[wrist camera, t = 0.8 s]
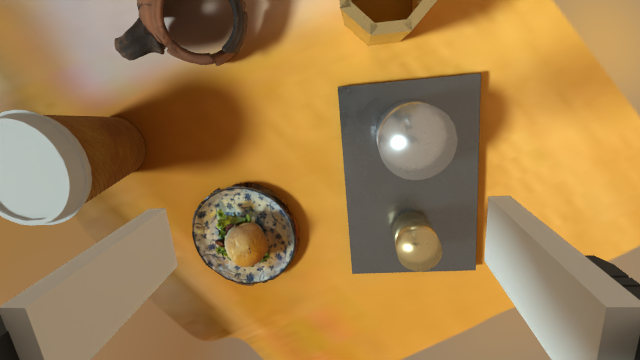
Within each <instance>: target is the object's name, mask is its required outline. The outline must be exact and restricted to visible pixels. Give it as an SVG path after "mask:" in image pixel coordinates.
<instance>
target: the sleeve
mask: <svg viewBox="0 0 640 360" xmlns="http://www.w3.org/2000/svg"><path fill="white" fill-rule="evenodd" d="M436 1H437V0H412V13H411V15H410V16H409V17H408V18H407V19H405V20H396V21H388V22H379V23H374V22H373V21H372V20H371V19H370V18H369V17H368V16H366V15H365V14H364V13H363V12H362V11H361V10H360V9H359V8H358V7H356V6H355V5H354V4H353V3H352V2H351V0H340V9H341V13H342V17H343V21H344V25H345V26H346V27H347V28H349V29H350V30H351V31H352V32H353V33H354V34H355V35H356V36H358V37H359V38H360V39H361V40H362V41H363V42H364V43H365V44H367V45H377V44H386V43H396V42H400V41H401V40H402V39H403V38H404V37H405V36H406V35H408V34H409V33H410V32H411V31H412V30H413V29H414V28H415V26H416V25H417V24H418V23H419V22H420V20H421V19H422V18H423V17H424V16H425V14H426V13H427V12H428V11H429V10H430V8H431V7H432V6H433V5H434V4H435V3H436Z"/></svg>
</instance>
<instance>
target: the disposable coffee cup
mask: <svg viewBox="0 0 640 360" xmlns="http://www.w3.org/2000/svg"><path fill="white" fill-rule="evenodd" d="M145 154H146V148H145V142H144V139H143V137H142V135H141V134H140V132H139V130H138V129H137V128H136V127H135V126H134V125H133V124H132V123H130V122H129V121H127V120H125V119H122V118H119V117H93V116H61V115H59V116H57V115H40V114H38V113H35V112H32V111H25V110H11V111H4V112H2V113H0V215H1V216H2V217H4V218H6V219H8V220H10V221H13V222H16V223H19V224H23V225H53V224H57V223H61V222H64V221H66V220H67V219H70V218H71V217H73V216H74V215H76V213H77V212H78V211H79V210H80V209H81V208H82V207H83V205H84V204H85V203H86V202H88V201H89V200H91V199H92V198H94V197H96V196H97V195H98V194H100V193H101V192H103V191H105V190H106V189H108V188H109V187H110V186H112V185H113V184H115V183H117V182H118V181H120V180H121V179H123V178H124V177H126V176H127V175H129V174H130V173H132V172H133V171H135V170H136V169H138V168H139V167H140V166H141V164H142V163H143V161H144V158H145Z"/></svg>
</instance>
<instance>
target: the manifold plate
mask: <svg viewBox="0 0 640 360" xmlns="http://www.w3.org/2000/svg"><path fill="white" fill-rule="evenodd" d="M480 87H481V73H479V74H468V75H457V76H447V77H437V78H426V79H416V80H405V81H395V82H385V83H374V84H364V85H353V86H343V87H338V96H339V108H340V121H341V134H342V147H343V160H344V172H345V185H346V198H347V211H348V223H349V236H350V249H351V262H352V274H359V273H393V272H428V271H462V270H476V235H477V198H478V161H479V124H480Z"/></svg>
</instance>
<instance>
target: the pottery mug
mask: <svg viewBox="0 0 640 360" xmlns="http://www.w3.org/2000/svg"><path fill="white" fill-rule="evenodd" d="M164 1H165V0H137V6H138V10H139V18H138V19H137V21H136V22H135V23H134V24H133V26H132V27H130V29H128V30H127V31H126V32H125V33H124V35H123V36H121V37H119V38H116V39H115V48H116V50H117V51H118V52H119V53H120V54H121V55H122V56H123V57H124V58H126V59H128V60H134V59H137V58H139V57H142V56H144V55H146V54H148V53H152V52H157V53H160V54H164V49H165V48H166V47H167V48H168V49H167V52H168V53H169V54H170V55H172V56H174V57H177V58H179V59H181V60H184V61H187V62H190V63H196V64H200V65H209V64H214V63H215V64H216V65H217V66H219V65H221V64H223V63H225V62H227V61H228V60H230V59H231V58H232V57H233V56H234V54H237V53H238V51H239V50H240V48H241V45H242V43H243V40H244V37H245V34H246V28H247V13H246V12H245V2H244V0H229V1H230V3H231V6H232V9H233V14H234V25H233V31H232V33H231V36H230V37H229V39H228V41H227V42H226V44H225V45H224V46H223V47H222V50H220V51H219V52H217V53H214V54H210V53H204V54H201V53H194V52H191V51H188V50H186V49H184V48H183V47H181V46H180V45H179V44H177V42H176V41H175V40H173V39H172V37H171V36H170V34H169V32H168V30H167V28H166V26H165V23H164V18H163V6H164Z"/></svg>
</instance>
